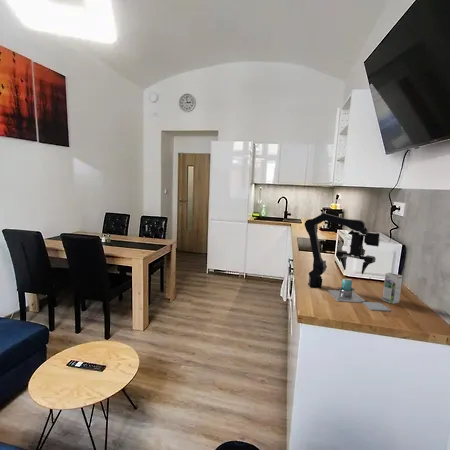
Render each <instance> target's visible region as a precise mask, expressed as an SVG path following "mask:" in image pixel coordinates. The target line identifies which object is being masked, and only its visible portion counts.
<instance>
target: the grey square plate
mask: <svg viewBox="0 0 450 450" xmlns="http://www.w3.org/2000/svg"><path fill="white" fill-rule="evenodd" d="M355 290H356V289H355V287H352V288H351V291H344V290H342V286H338V287H337V289H328V290H327V293H329V294H330V296H332V298H333V299H335V301H336V302H346V303H347V302H348V303H362V304H363V302H366V300H365V298H364V299H363V298H362V297H361V296H360V295H358V293H356V292H355Z"/></svg>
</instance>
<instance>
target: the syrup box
mask: <svg viewBox="0 0 450 450" xmlns="http://www.w3.org/2000/svg"><path fill="white" fill-rule="evenodd" d="M403 277H404V276H403V275H401V274H398V273H394V272H387V273H385V276H384V283H383V290H382V291H383V292H382V298H381V300H382V301H384V302H386V303H388V304H391V305H392V304H393V305H394V304H399V303H400V300H401V291H402V283H403Z"/></svg>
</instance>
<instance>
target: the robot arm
mask: <svg viewBox="0 0 450 450" xmlns="http://www.w3.org/2000/svg"><path fill="white" fill-rule="evenodd" d="M324 221H326V222H328V223H333V224H336V225H340V226H344V227H346V228H349V229H350V231H349V232H348V233H347V235H351V241H350V245H349V252H348V251H346V250H342V249H339V250H337V251H336V252H335V256H336V257H337V258H338V259H339V260H340V262H341V264H342V268H343V270H344V271H345V270H346V268H347V258H353V259H358V260H363V262H362V265H361V266H362V269H361V275H364V273H365V270H366V269H367V268H368V266H369V265H371V264H373V263H376V256H373V255H365V253H366V250H365V248H364V245H363V244H365V245H366V246H370V247H371V246H372V247H377V248H378V247H379V244H380V233H379V232H376V233H375V232H369V230H368V228H367V227H366V222H365V221H364V220H362V219H352V218H351V219H350V218H345V217H342V216H336V215H333V214H329V213H326V212H324V213H321V214H319V215H317V216H315V217H313V218H310V219H307V220H305V222H304V228H305V230H306V233H307V234H308V237H309V242H310V247H311V252H312V259H313V262H312V270H311V271H309V272H308V283H307V285H308V287H309V288H313V289H322V286H323V279H322V275H323V274H324V273H325V272H326V270H327V268H328V266H327V261H326V260H323V258H322V253H321V248H320V242H319V237H318V229H319V226H318V225H320V224H321V223H323V222H324Z"/></svg>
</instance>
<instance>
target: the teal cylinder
mask: <svg viewBox="0 0 450 450" xmlns="http://www.w3.org/2000/svg"><path fill="white" fill-rule="evenodd" d="M352 286H353V279H351V278H342V279H341V288H342V290H344V291H351V288H353V287H352Z"/></svg>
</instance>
